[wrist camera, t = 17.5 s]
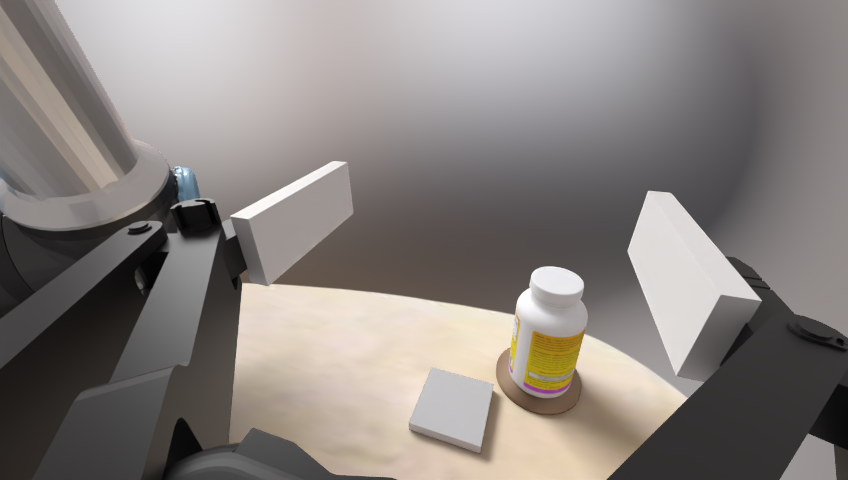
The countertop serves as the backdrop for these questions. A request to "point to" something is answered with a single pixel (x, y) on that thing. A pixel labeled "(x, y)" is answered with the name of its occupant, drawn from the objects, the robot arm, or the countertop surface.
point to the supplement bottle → (548, 332)
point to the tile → (453, 409)
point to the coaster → (533, 402)
